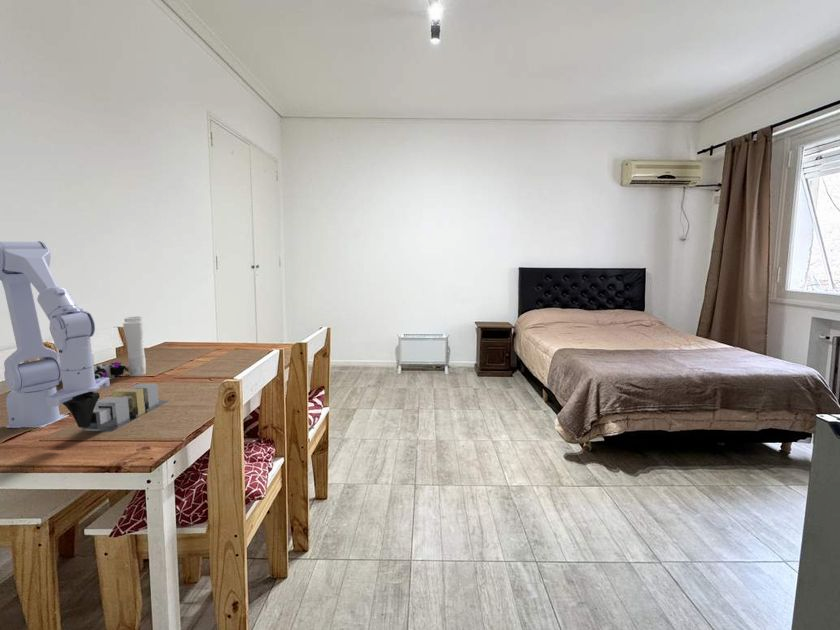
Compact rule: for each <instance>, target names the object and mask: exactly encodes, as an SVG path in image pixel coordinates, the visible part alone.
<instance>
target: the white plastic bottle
mask: <svg viewBox="0 0 840 630" xmlns="http://www.w3.org/2000/svg"><path fill="white" fill-rule="evenodd" d="M123 320H124V321H123V323H122V325H123V333H124V337H125V340H126V348H127V349H126V352H127V359H128V372H129V375H130V376H129V377H140V376H144V375H146V373H147V372H146V371H147V370H146V369H147V364H146V363H147V359H146V354H145V345H144V343H145V342H144V341H145V340H144V338H143V337H144V321H143V316H139V315H137V316H127V317H124V319H123Z"/></svg>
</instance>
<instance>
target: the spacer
mask: <svg viewBox="0 0 840 630" xmlns="http://www.w3.org/2000/svg"><path fill="white" fill-rule="evenodd" d="M111 394H112V396H111V397H124V396H132V401H133V409H131V410H129V414H138V416H140V415H142V414H144V413H145V403H144V393H143V389H132V388H129V387H127V388H124V387H120V388H119V387H118V388H116V389H114V390H112V391H111ZM144 415H145V414H144ZM142 416H143V415H142ZM140 417H141V416H140Z"/></svg>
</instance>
